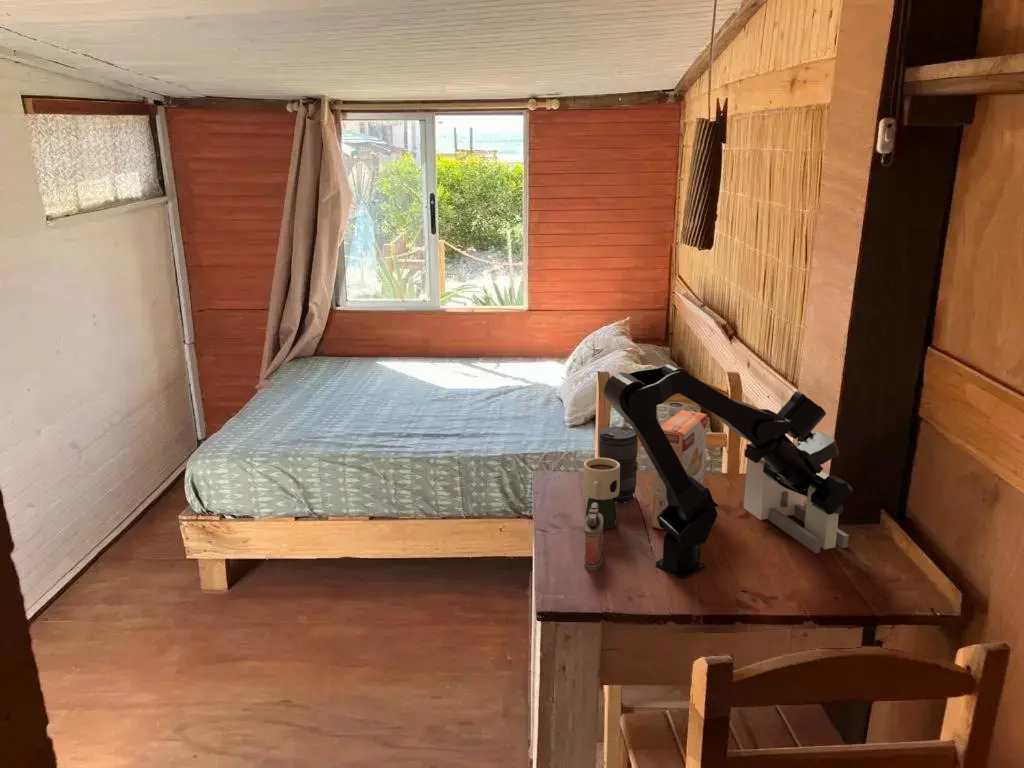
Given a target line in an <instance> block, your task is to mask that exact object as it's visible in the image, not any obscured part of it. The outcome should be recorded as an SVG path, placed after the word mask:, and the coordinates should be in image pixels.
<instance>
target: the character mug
mask: <svg viewBox="0 0 1024 768" xmlns="http://www.w3.org/2000/svg"><path fill="white" fill-rule="evenodd" d="M582 484H583V485H582V486H583V495H585V497H587V498H588V499H587V504H586V509H585V516H584V519H585V518H586V516H587V515H588V514H589V509H591V505H592V504H593V503H597V504H598V513H600V514H602V516H603V530H605V529H611V528H614V527H615V526H616V524H617V523H618V521H617V520H618V519H617V509H616V503H615V502H614V499H613V498H615V497H617V496H618V495H619V490H620V489H619V488H620V464H619V463H618V462H617V461H615V460H613V459H609V458H600V457H594V458H589V459H587V460H585V461H584V462H583V483H582Z"/></svg>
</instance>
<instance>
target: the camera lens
mask: <svg viewBox="0 0 1024 768" xmlns="http://www.w3.org/2000/svg"><path fill="white" fill-rule="evenodd" d="M598 441H599V442H598V454H599V458H609V459H613V460H615V461H617V462H618V463H619V464H620V488H619V489H620V490H619V495H618V496H617V497H615V498H613V499H614V502H617V503H616V504H619V503H620V504H625V503H624V502H627V503H629V502H628V501H630V500H631V501H632V500H633V499H634V493H635V492H636V487H637V471H638V470H639V468H638V465H639V463H638V460H637V457H638V450H639V449H638V448H639V447H638V442H639V439H638V437H637V435H636V433H635V432H634V430H633V428H632V427H627V426H621V425H620V426H617V425H616V426H609V427H605V428H603V429H601V430H600V433H599V439H598ZM632 498H633V499H632ZM631 501H630V502H631Z"/></svg>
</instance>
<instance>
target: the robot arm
mask: <svg viewBox="0 0 1024 768" xmlns="http://www.w3.org/2000/svg"><path fill="white" fill-rule="evenodd" d="M603 394H604V397H605V399H606V401H607V402H608V403H609V404H610V405H611V406H612V407H613V409H614V410H615V411H616V412H617V413H618V415H620V416H621V417H622V419H623V420H625V421H626V423H628V424H629V426H630V427H631V428H632V429H633V430H634V432H635V433H636V435H637V438H638V441H639V442H640V444H641V445H642V447H643V449H644V451H645V452H646V454H647V456H648V458H649V460H650V462H651V463H652V465H653V466H654V469H655V468H656V470H657V472H658V474H659V475H660V477H661V479H662V481H663V482H664V484H665V486H666V498H667V501H668V505H667V507H666V508H665V509H664V510H663V511H662V512H661V513H660V514H659V515H658V516H657V520H658V523H659V526H660V527H661V528H663V529H664V531H665V535H664V536H663V546H662V558H661V559H659V560H656V561H655V565H656V566H657V567H659V568H661V569H662V570H665V571H667V572H670V573H671V574H673V575H675V576H677V577H679V578H681V579H685V578H687V577H690V576H692V575H693V574H695V573H697V572H700V570H703V569H704V568H706V566H707V565H706V563H705V562H702V561H700V559H701V545H704V544H706V543H707V541H708V539H709V536H710V534H711V531H712V528H713V526H714V524H715V523H716V520H717V518H718V515H719V513H718V511H717V508H716V507H718V506H719V504H718V503H717V502H715V501H714V499H713V496H712V494H711V491H710V490H709V487H707V485H705V484H704V483H703V484H702V483H701V482H699V481H698V480H696V479H695V478H694V477H692V476H690V477H688V475H687V473H686V471H685V469H684V467H683V466H682V464H681V462H680V460H679V458H678V457H677V455H676V453H675V451H674V449H673V448H672V446H671V444H670V442H669V440H668V438H667V437H666V435H665V433H664V431H663V429H662V428H661V423H660V422H659V419H658V407H657V406H658V405H662V404H664V403H665V402H666V401H667V400H669V399H670V398H671V397H673V396H674V395H678V394H680V395H681V396H683V397H685V398H687V399H688V400H690V401H691V402H693V403H695V404H697V405H699V406H700V407H702V408H704V409H706V411H708V412H711V413H712V414H714V415H716V417H718V418H719V419H720V420H721V422H722V423H723V424H724V425H725V426H726V427H728V429H729V430H730V431H732V432H733V433H734V434H736V435H738V436H740V437H741V438H743V439H745V440H746V441H747V442H749V443H747V444H746V448H745V449H746V450H745V454H744V453H743V456H744V457H745V458H746V459H747V458H748V459H750V460H751V461H753V462H755V463H758V462H759V461H760V460H761V459H762V458H763V459H764V460H765V461H766V463H765V464H764V466H763V472H764V473H765V474H766V475H767V476H768V477H769V478H770V479H772V480H774V481H775V482H777V483H778V484H780V485H781V486H783V487H785V488H786V489H789V490H792V491H794V492H797V493H799V494H802V495H804V496H805V497H807V495H808V488H809V486H811V487H813V488H814V489H816V490H815V491H814V492H813V493H812V494H811V502H812V503H813V504H812V505H813V506H815V507H816V508H818V509H820V510H821V511H823V512H825V513H826V514H828V515H830V514H833V513H836V514H839V515H841V514H842V513H843V512H844V508H843V504H844V503H845V501H846V500H847V498H849V497H850V496H851V495H852V493H853V487H852V486H851V485H850V484H849V483H848V482H847V481H846V480H844V479H841V477H837V476H836V475H829V476H828V477H827V478H826V479H824V478H822V477H820V476H818V475H817V473H818V474H819V473H820V472H821V471H822V472H823V471H824V467H823V466H822V465H823V464H825V463H827V462H828V461H830V460H832V459H834V458H837V457H838V456H839V454H840V452H839V448H838V445H837V442H836V440H835V438H834V437H832V436H829V435H828V434H826V433H823V432H817V431H814V432H813V433H812V431H813V430H814V428H816V427H817V426H818V424H819V423H820V422H821V421H822V420H823V419H824V417H826V415H827V413H826V411H825V409H824V408H823V407H822V406H820V405H818V404H817V403H816V402H814V401H813V400H812V399H810V398H808V397H807V395H805V394H804V393H802V392H800V391H795V392H794V393H793V394H792V395H791V397H790V398H789V399H788V401H787V402H786V403H785V404H784V406H782V407H781V409H779V410H778V412H777V413H776V412H774V411H772V410H770V409H768V408H765V409H764V408H758V407H757V406H754V405H752V404H750V403H747V402H744V401H741V400H738V399H733V398H730V397H728V396H727V395H725V394H724V393H721V392H720V391H718V390H716V389H715V388H714V387H712V386H710V385H708V384H707V383H705V382H703V381H702V380H700V379H698V378H697V377H695V376H693V375H692V374H690V373H689V372H688V371H687V370H686V369H684V368H683V367H680V366H678V365H676V364H673V363H668V364H664V365H661V366H657V367H652V368H646V369H645V368H644V369H637V370H633V371H631V372H623V371H622V372H617V373H615V374H612V375H611V376H610V377H609V378H608V380H607V381H606V383H605V385H604V388H603ZM788 436H789V437H790V438H792V439H794V440H796V442H797V445H796V444H795V443H794V442H792V440H791V439H790V438H789V437H788ZM795 445H796V446H797V447H796V446H795ZM778 478H779V479H778ZM815 480H816V481H815ZM820 483H821V484H820ZM663 529H662V530H663Z"/></svg>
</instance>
